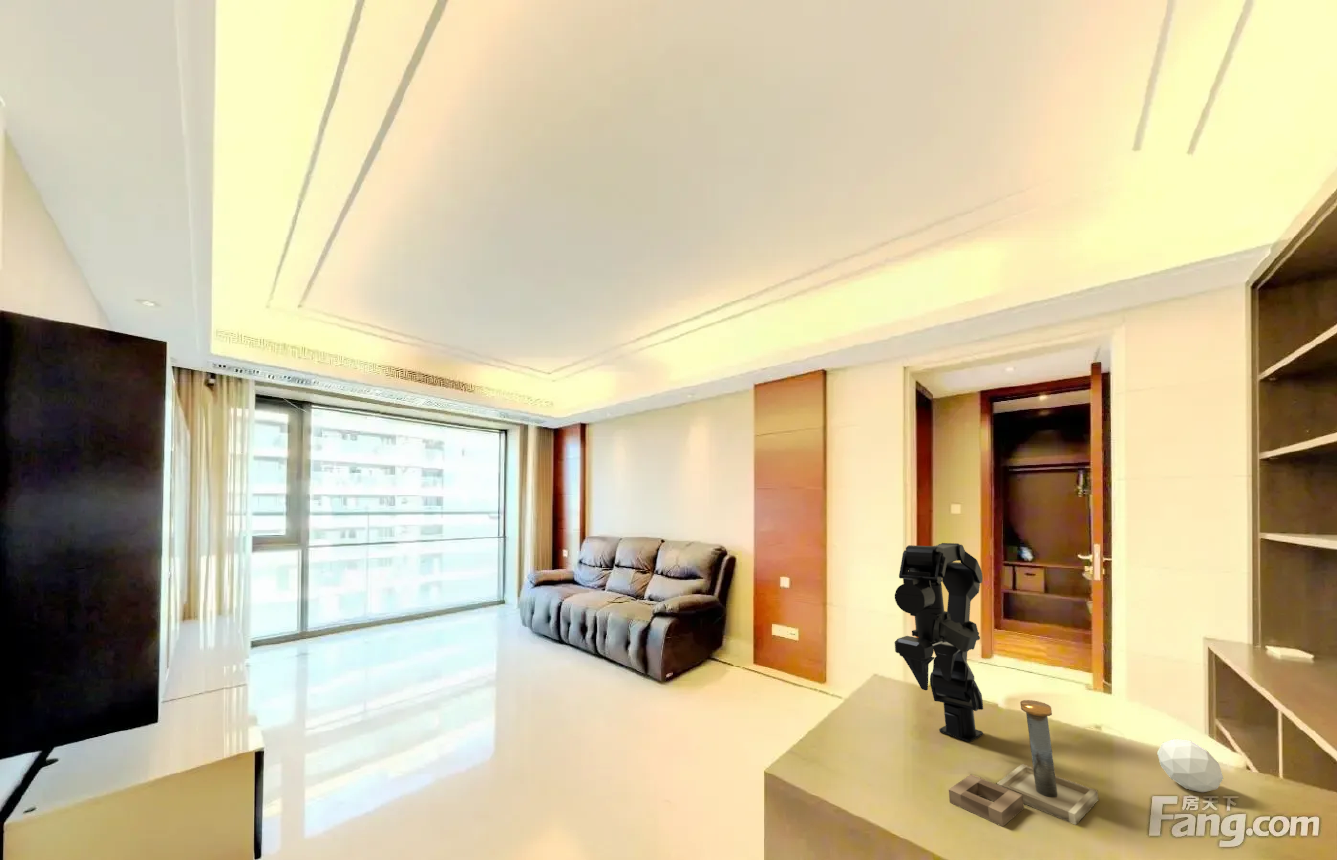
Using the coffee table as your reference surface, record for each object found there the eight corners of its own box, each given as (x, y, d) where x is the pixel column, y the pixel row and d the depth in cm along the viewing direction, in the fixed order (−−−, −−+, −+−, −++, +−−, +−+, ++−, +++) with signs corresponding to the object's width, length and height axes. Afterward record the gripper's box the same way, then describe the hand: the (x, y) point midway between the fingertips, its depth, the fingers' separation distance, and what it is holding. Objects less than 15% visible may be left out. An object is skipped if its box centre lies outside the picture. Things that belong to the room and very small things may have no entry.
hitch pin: (1029, 782, 87) (1018, 698, 89) (1060, 789, 85) (1048, 702, 87) (1032, 795, 83) (1021, 707, 86) (1065, 802, 81) (1053, 711, 83)
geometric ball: (1181, 798, 87) (1156, 747, 93) (1241, 798, 82) (1212, 743, 88) (1164, 787, 85) (1140, 734, 90) (1226, 785, 80) (1197, 730, 85)
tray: (1023, 772, 92) (1022, 763, 92) (1098, 800, 83) (1097, 790, 83) (997, 792, 85) (996, 783, 86) (1076, 825, 76) (1074, 814, 77)
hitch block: (972, 786, 87) (970, 774, 88) (1023, 808, 81) (1022, 795, 81) (949, 802, 83) (948, 789, 83) (1003, 826, 76) (1001, 812, 77)
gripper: (945, 619, 92) (954, 708, 89) (990, 606, 102) (999, 686, 100) (890, 609, 101) (897, 690, 98) (936, 599, 111) (943, 672, 109)
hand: (936, 685), depth 101 cm, fingers open, 9 cm apart
